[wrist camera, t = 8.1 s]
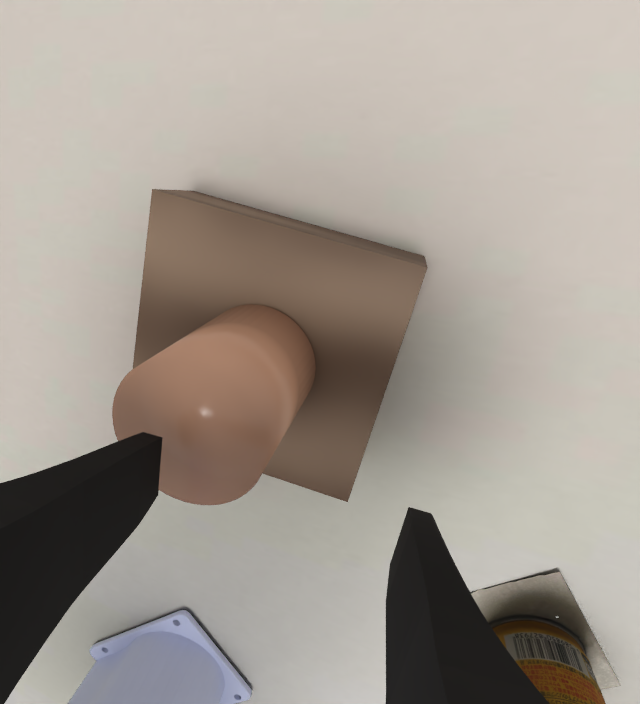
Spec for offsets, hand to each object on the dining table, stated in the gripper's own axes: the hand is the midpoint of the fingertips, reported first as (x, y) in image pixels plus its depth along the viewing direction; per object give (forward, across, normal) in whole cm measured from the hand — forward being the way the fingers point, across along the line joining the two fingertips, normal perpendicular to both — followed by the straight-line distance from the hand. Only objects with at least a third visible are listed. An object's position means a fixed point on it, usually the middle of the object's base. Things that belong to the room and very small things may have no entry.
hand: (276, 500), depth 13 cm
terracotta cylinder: (+7, +3, -1) cm, 7 cm away
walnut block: (+11, +3, -1) cm, 11 cm away
